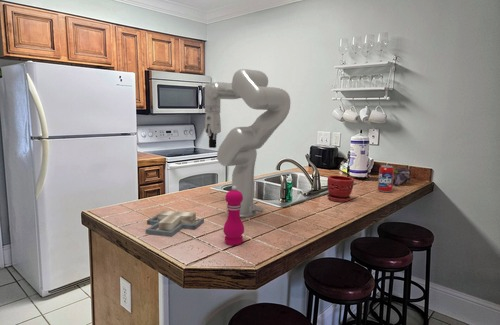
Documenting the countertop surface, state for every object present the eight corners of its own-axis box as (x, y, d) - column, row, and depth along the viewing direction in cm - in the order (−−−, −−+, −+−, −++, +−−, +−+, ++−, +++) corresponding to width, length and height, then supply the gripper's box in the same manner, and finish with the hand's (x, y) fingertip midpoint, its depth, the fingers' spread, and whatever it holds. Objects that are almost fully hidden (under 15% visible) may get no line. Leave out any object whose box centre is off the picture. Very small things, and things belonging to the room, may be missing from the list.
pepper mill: (223, 238, 118) (223, 183, 115) (243, 237, 118) (244, 183, 115) (223, 246, 111) (223, 188, 108) (244, 245, 111) (245, 188, 108)
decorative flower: (381, 167, 218) (404, 161, 216) (383, 182, 222) (405, 176, 221) (390, 177, 204) (414, 171, 203) (392, 193, 209) (416, 187, 208)
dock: (203, 222, 134) (203, 218, 134) (184, 238, 117) (184, 234, 117) (159, 217, 139) (159, 213, 139) (133, 232, 122) (133, 228, 122)
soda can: (393, 190, 194) (395, 165, 192) (390, 193, 188) (393, 167, 185) (379, 189, 198) (381, 164, 196) (376, 191, 192) (378, 166, 189)
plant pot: (343, 204, 163) (344, 181, 162) (321, 199, 173) (322, 176, 171) (357, 200, 172) (358, 177, 170) (335, 195, 182) (337, 174, 180)
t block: (195, 222, 134) (195, 212, 134) (183, 234, 120) (183, 224, 120) (163, 219, 136) (163, 210, 136) (147, 231, 123) (147, 221, 122)
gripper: (214, 109, 151) (214, 149, 154) (225, 110, 165) (224, 146, 168) (199, 109, 153) (199, 148, 156) (211, 109, 167) (211, 145, 170)
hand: (212, 147), depth 162 cm, fingers closed
